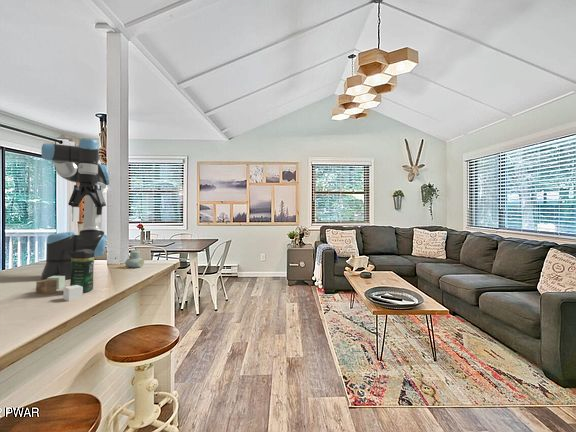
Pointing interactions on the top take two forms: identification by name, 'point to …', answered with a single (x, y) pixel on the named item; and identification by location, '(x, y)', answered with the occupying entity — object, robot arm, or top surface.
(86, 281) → the coffee jar
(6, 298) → the top surface
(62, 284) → the sage block
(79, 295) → the off-white block
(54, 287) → the walnut block
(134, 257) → the air freshener
